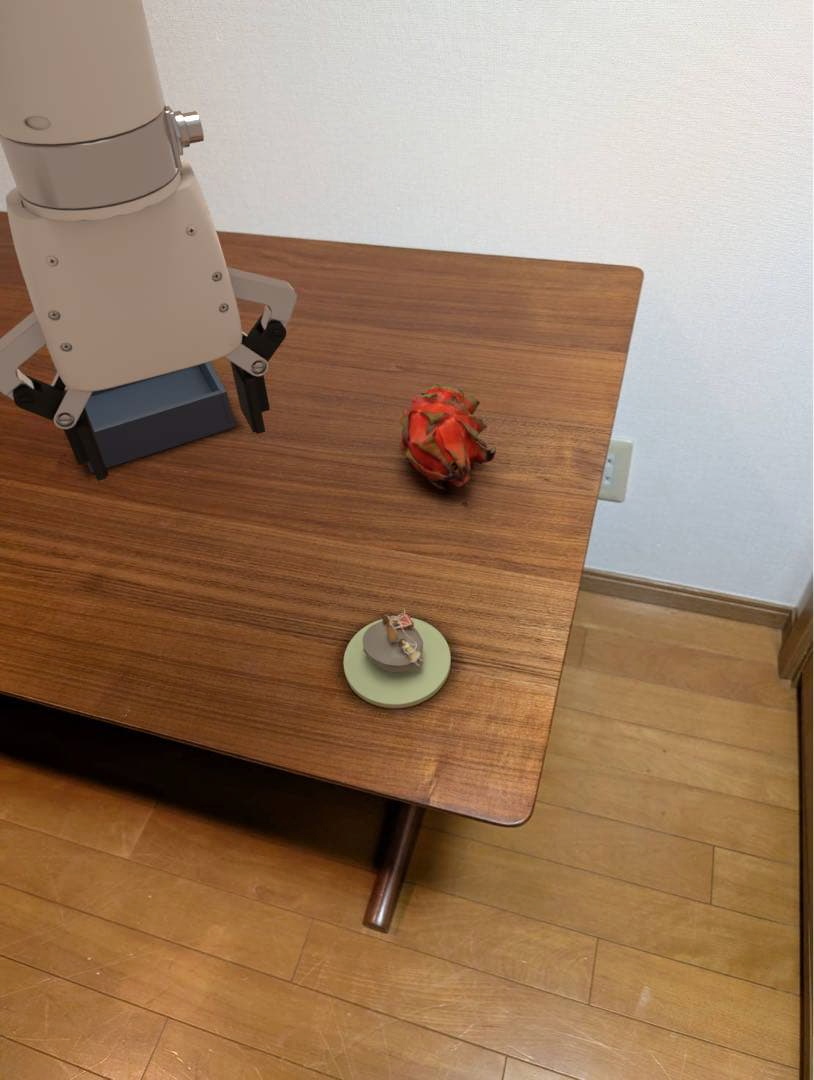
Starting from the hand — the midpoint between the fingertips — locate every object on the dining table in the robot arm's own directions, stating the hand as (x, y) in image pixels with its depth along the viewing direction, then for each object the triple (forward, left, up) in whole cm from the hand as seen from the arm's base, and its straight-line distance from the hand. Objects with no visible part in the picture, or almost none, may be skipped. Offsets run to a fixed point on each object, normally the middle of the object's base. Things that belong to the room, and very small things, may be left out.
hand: (178, 443), depth 51 cm
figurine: (+10, -6, -21) cm, 25 cm away
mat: (+10, -6, -22) cm, 25 cm away
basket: (0, +36, -22) cm, 42 cm away
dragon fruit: (+24, +13, -22) cm, 35 cm away
